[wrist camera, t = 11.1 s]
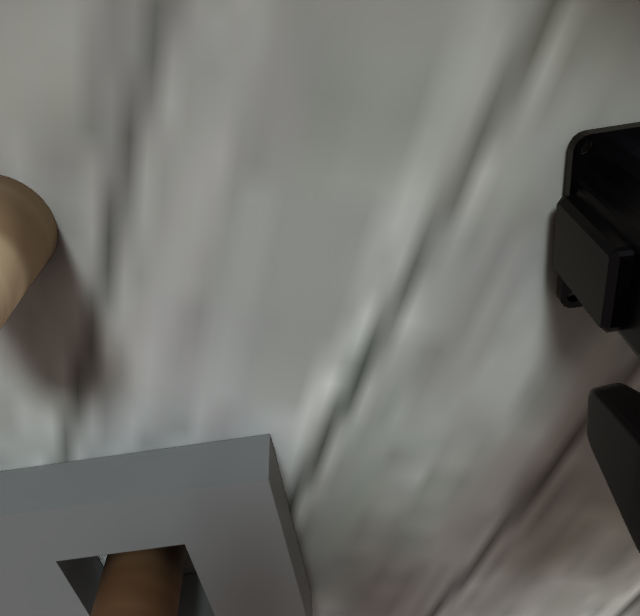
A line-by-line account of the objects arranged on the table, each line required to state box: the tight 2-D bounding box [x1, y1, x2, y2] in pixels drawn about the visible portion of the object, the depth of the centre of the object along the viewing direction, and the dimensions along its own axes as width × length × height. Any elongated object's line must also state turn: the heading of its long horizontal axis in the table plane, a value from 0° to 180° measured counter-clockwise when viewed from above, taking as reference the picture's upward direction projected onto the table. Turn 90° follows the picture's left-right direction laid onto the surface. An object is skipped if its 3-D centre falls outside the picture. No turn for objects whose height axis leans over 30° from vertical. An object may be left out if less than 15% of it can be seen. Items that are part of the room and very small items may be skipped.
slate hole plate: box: [0, 434, 312, 616], centre depth 28 cm, size 14×12×2 cm
